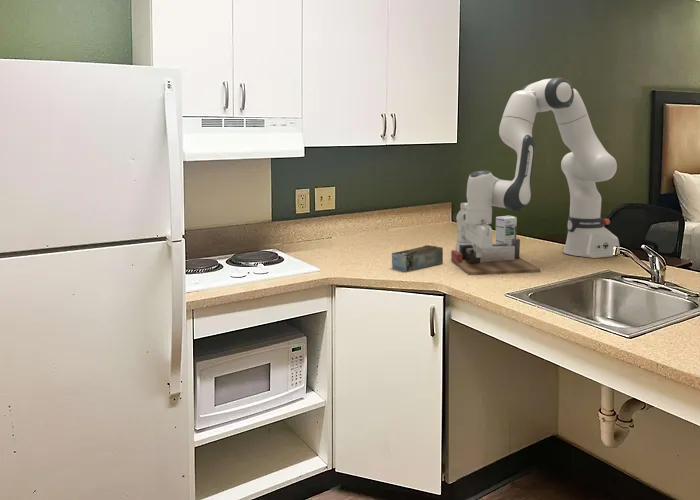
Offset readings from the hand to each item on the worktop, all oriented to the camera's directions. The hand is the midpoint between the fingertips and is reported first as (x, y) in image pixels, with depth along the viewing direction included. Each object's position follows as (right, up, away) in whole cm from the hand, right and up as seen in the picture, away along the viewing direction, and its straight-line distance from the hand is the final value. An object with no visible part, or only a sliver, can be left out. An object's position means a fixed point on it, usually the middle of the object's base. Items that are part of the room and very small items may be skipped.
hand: (477, 256), depth 220 cm
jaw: (+6, -2, +5) cm, 8 cm away
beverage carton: (-21, -4, +5) cm, 21 cm away
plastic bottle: (0, 0, +23) cm, 23 cm away
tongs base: (+6, -3, +3) cm, 8 cm away
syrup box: (+16, +1, +23) cm, 28 cm away
